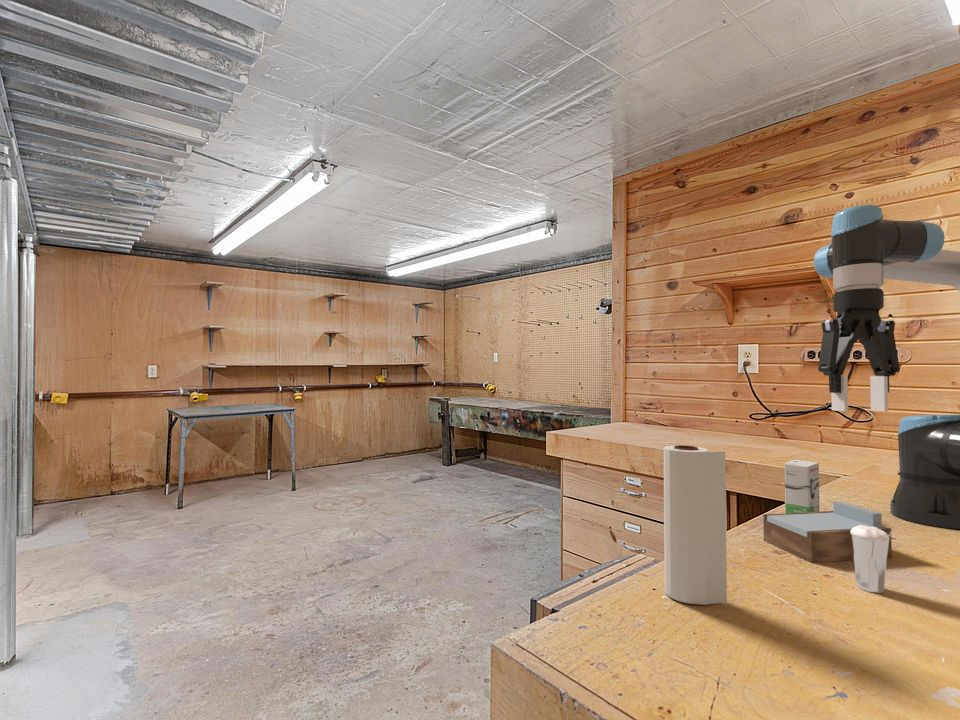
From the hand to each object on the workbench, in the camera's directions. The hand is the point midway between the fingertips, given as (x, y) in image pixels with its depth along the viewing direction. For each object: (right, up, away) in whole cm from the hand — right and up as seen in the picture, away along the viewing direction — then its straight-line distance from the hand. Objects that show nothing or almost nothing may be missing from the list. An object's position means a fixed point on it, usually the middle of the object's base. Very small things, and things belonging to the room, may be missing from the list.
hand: (859, 410), depth 91 cm
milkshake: (-13, -25, -19) cm, 34 cm away
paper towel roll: (-41, -25, -22) cm, 53 cm away
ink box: (+3, -26, +20) cm, 33 cm away
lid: (-8, -21, -2) cm, 23 cm away
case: (-8, -25, -2) cm, 26 cm away
